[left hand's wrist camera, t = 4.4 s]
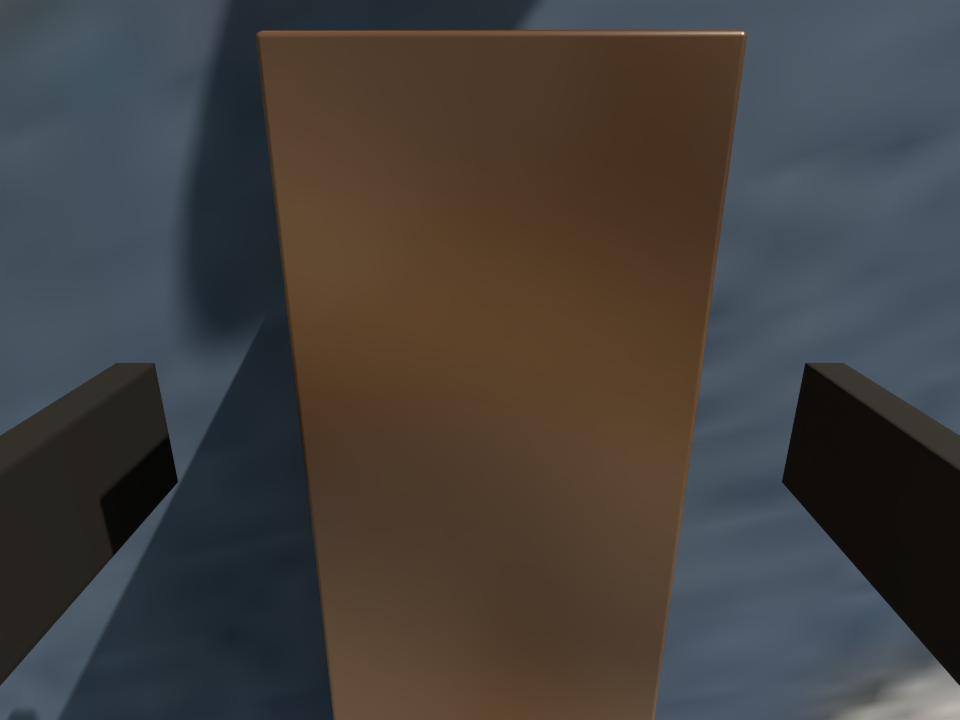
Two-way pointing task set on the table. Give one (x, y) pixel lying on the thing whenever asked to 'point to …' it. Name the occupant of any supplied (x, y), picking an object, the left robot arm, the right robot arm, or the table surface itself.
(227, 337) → the table surface
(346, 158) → the post
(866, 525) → the left robot arm
